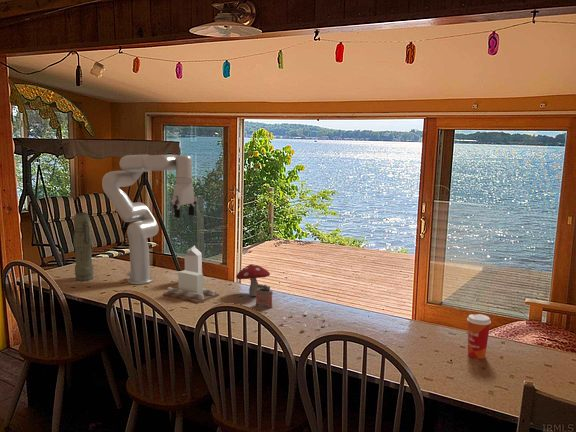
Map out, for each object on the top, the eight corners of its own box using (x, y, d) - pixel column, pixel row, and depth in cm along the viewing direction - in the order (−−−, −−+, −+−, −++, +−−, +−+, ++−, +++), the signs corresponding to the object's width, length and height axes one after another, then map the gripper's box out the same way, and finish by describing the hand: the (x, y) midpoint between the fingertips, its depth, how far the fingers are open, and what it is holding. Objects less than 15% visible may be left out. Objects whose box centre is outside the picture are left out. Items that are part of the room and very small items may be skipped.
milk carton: (202, 281, 262) (201, 245, 259) (198, 284, 255) (197, 248, 252) (188, 280, 263) (188, 245, 260) (184, 284, 256) (184, 247, 253)
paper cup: (461, 351, 177) (463, 313, 175) (481, 351, 177) (484, 313, 175) (470, 361, 169) (473, 321, 167) (492, 360, 170) (495, 321, 167)
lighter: (273, 306, 222) (273, 285, 221) (270, 309, 219) (270, 287, 218) (257, 304, 226) (257, 282, 224) (254, 306, 222) (254, 284, 221)
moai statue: (85, 275, 270) (83, 211, 265) (98, 278, 263) (95, 213, 258) (70, 278, 263) (67, 212, 258) (83, 282, 256) (79, 215, 251)
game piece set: (321, 335, 191) (321, 325, 190) (272, 328, 198) (272, 318, 197) (334, 318, 209) (334, 310, 208) (289, 312, 216) (289, 304, 215)
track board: (163, 295, 237) (163, 288, 237) (184, 288, 249) (184, 282, 248) (198, 303, 226) (198, 296, 225) (218, 295, 237) (218, 289, 237)
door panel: (178, 292, 238) (178, 271, 237) (185, 290, 242) (184, 269, 241) (197, 296, 232) (197, 275, 231) (203, 294, 236) (203, 273, 234)
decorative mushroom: (231, 298, 233) (231, 267, 231) (243, 289, 249) (243, 259, 246) (263, 301, 229) (263, 269, 227) (273, 291, 244) (274, 262, 242)
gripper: (190, 179, 250) (191, 213, 252) (165, 181, 235) (165, 217, 238) (201, 180, 246) (202, 214, 248) (176, 182, 231) (177, 219, 234)
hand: (184, 216), depth 243 cm, fingers open, 9 cm apart
